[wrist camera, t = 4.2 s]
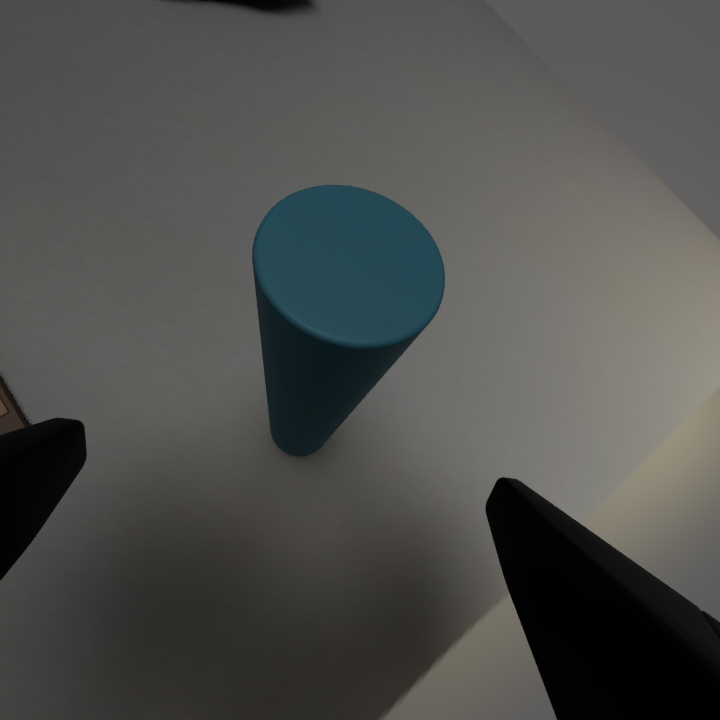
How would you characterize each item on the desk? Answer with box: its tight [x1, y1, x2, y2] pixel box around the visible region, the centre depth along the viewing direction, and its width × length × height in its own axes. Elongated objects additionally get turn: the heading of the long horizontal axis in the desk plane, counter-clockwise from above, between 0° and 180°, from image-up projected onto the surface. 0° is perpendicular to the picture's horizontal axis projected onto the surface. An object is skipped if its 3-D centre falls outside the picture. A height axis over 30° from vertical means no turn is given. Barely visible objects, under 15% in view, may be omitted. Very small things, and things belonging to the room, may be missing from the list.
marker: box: [252, 185, 445, 456], centre depth 11 cm, size 3×3×14 cm
